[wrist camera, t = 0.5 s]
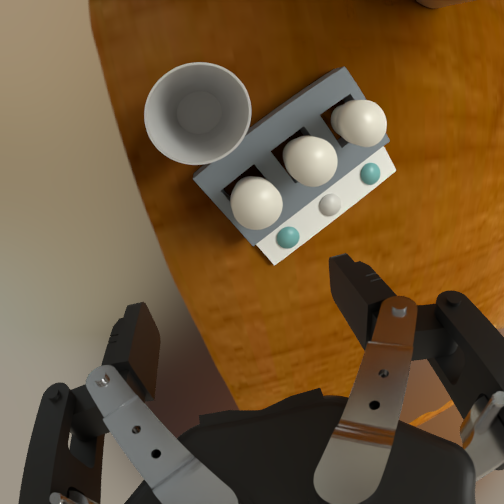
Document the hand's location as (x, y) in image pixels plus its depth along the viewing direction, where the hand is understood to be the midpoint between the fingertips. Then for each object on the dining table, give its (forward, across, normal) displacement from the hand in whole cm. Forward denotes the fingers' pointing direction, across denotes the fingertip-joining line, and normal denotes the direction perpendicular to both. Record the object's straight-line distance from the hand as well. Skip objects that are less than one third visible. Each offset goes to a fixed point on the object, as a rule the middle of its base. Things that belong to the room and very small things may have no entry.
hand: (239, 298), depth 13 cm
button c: (+20, -3, +2) cm, 21 cm away
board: (+23, -9, -1) cm, 25 cm away
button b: (+20, -9, -1) cm, 22 cm away
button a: (+20, -15, -4) cm, 25 cm away
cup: (+23, 0, -8) cm, 25 cm away
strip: (+23, -12, +6) cm, 27 cm away
